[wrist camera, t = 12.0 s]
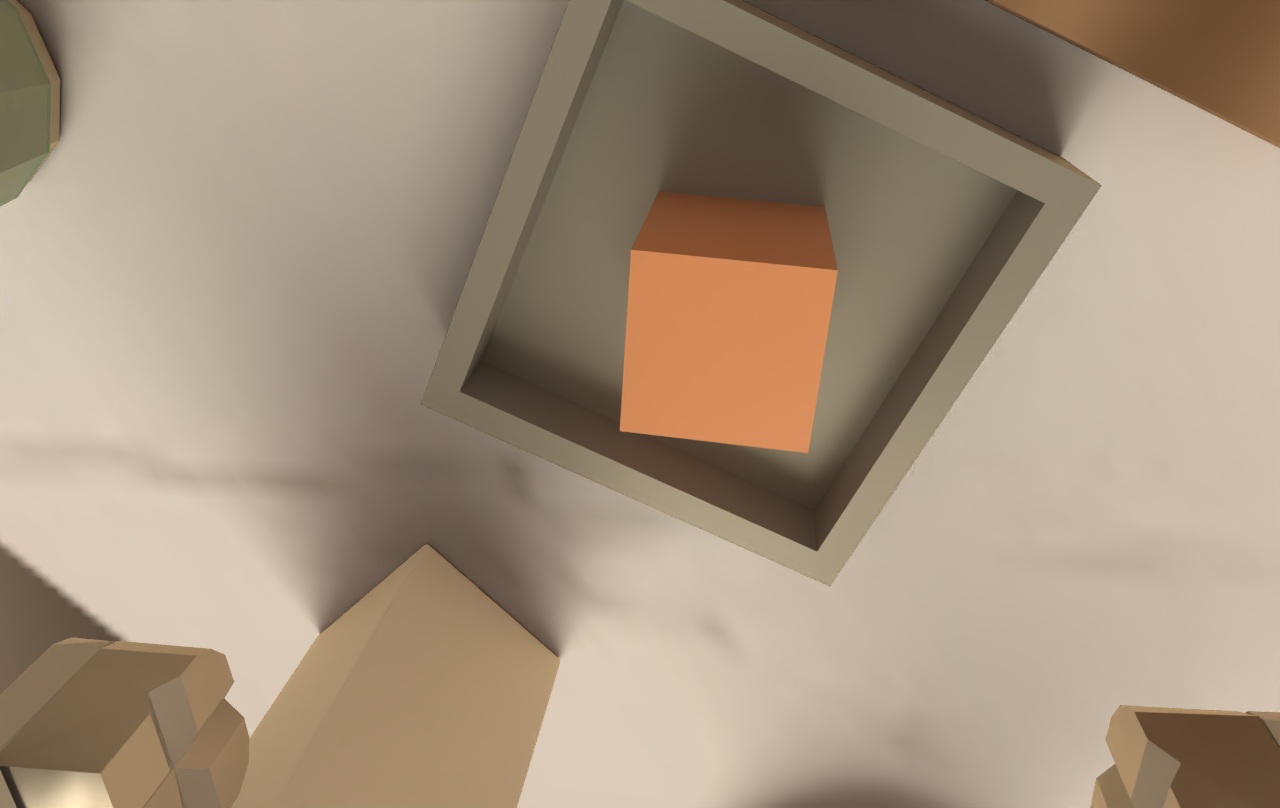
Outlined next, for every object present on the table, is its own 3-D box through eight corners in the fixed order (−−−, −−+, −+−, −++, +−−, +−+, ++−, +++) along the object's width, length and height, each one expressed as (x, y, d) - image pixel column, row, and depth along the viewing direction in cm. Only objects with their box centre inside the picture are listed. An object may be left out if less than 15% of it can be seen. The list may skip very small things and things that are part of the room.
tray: (1062, 156, 22) (1101, 185, 20) (824, 524, 27) (829, 586, 25) (615, -62, 22) (592, -64, 19) (456, 358, 27) (420, 404, 24)
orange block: (825, 207, 23) (837, 270, 18) (801, 360, 24) (807, 453, 20) (658, 191, 23) (630, 249, 18) (647, 344, 25) (619, 431, 20)
